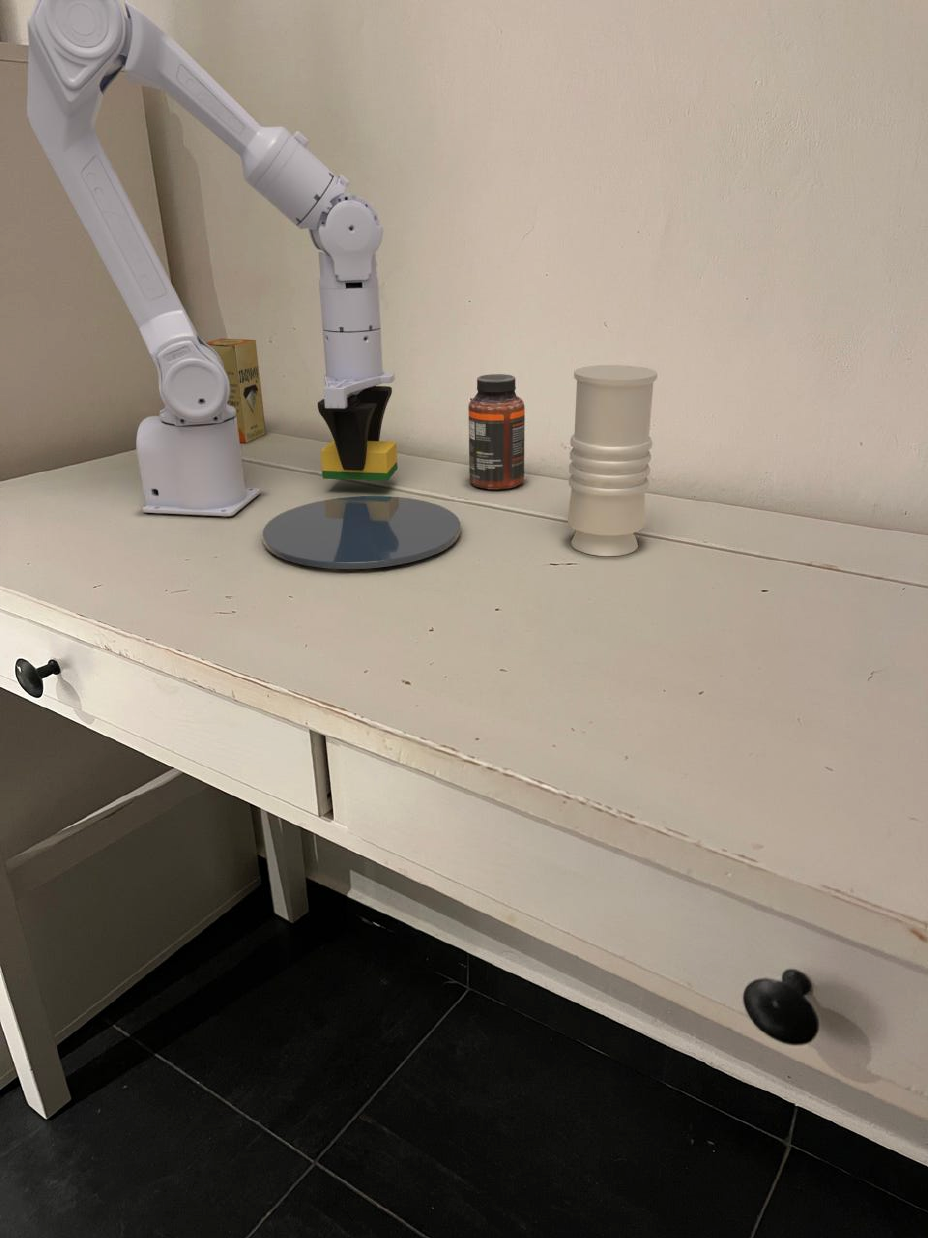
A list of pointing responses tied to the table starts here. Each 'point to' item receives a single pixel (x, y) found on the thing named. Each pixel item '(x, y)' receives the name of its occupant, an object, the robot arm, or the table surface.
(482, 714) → the table surface
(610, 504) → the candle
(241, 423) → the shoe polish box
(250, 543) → the table surface
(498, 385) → the supplement bottle
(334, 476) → the sponge
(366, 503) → the plate
